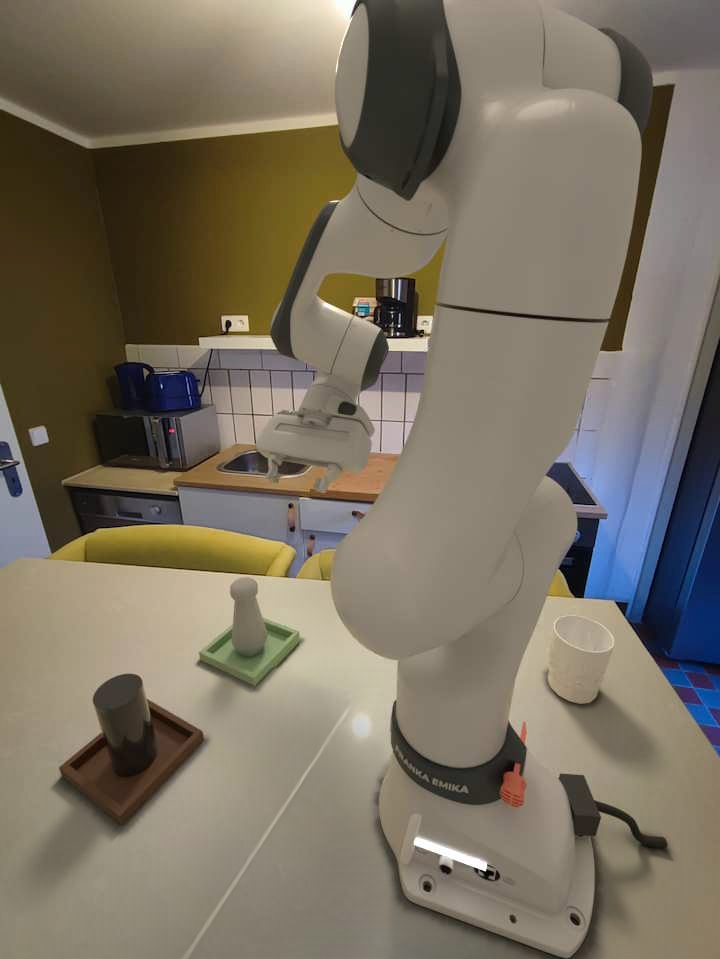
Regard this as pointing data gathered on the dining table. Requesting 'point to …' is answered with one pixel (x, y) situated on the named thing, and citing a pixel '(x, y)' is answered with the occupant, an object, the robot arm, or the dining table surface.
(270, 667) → the light tray
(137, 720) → the pepper shaker
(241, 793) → the dining table surface
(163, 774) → the dark tray
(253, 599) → the salt shaker
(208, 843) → the dining table surface
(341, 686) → the dining table surface
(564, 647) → the white cup
